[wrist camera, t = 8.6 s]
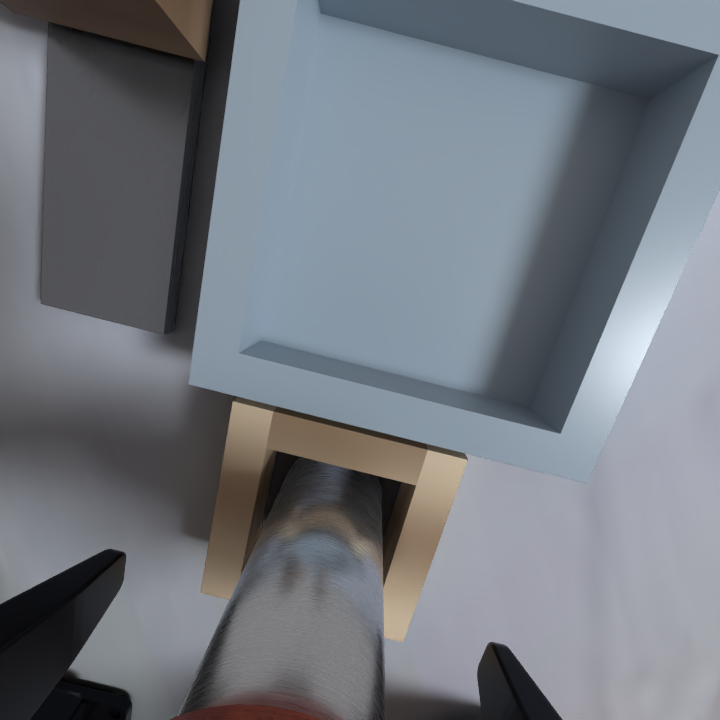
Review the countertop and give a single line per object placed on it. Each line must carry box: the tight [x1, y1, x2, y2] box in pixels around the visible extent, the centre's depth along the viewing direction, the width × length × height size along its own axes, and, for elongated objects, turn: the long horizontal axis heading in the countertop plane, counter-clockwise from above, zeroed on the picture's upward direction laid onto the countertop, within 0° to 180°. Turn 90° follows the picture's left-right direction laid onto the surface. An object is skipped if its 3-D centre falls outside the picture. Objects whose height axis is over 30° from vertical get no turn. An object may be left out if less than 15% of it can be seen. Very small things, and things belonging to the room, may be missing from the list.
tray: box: [188, 0, 720, 483], centre depth 10 cm, size 11×11×2 cm
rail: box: [41, 0, 214, 335], centre depth 10 cm, size 11×4×1 cm, turn 166°
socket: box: [200, 397, 468, 642], centre depth 12 cm, size 7×7×2 cm
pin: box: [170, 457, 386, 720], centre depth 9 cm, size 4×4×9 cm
